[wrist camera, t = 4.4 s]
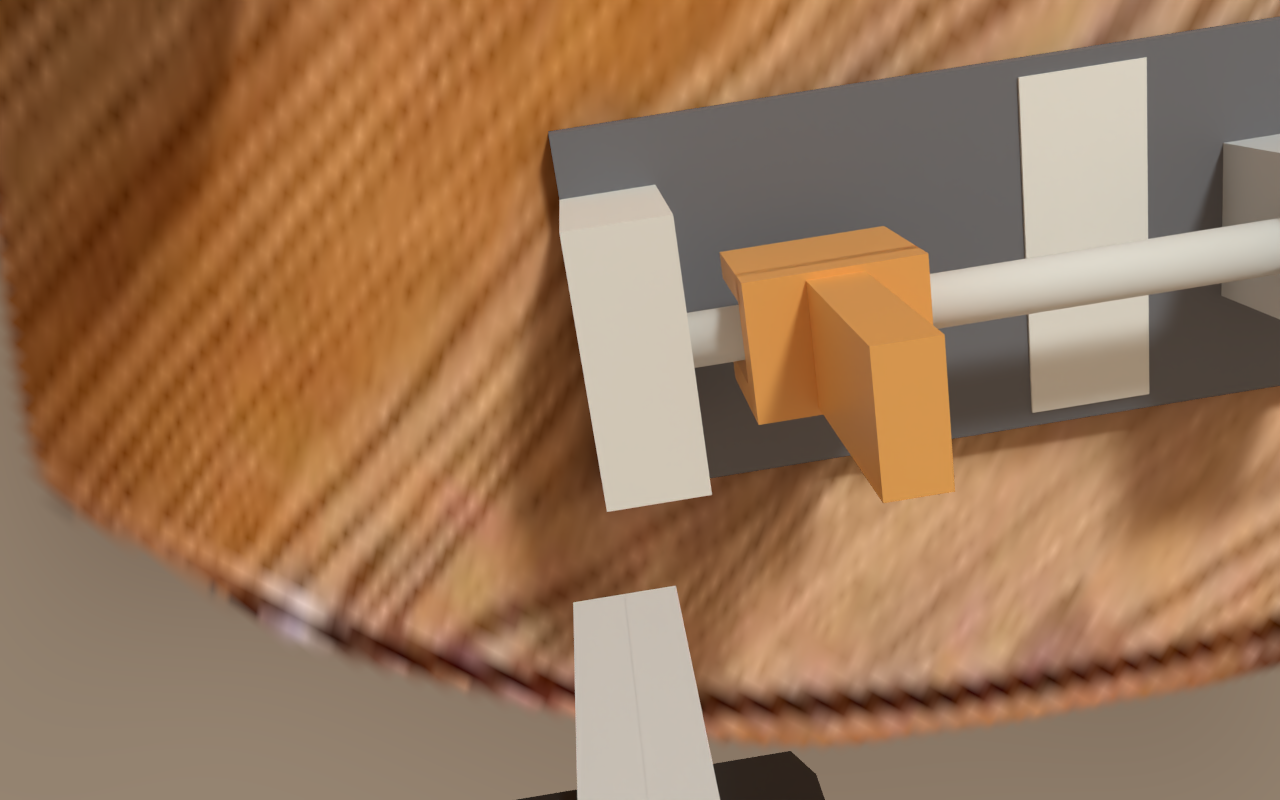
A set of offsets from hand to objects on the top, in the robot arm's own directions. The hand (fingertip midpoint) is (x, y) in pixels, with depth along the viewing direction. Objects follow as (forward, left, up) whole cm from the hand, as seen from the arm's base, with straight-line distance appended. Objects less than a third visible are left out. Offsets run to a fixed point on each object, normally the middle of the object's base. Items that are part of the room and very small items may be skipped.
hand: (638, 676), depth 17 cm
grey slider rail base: (+13, 0, -22) cm, 25 cm away
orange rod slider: (+7, 0, -19) cm, 20 cm away
